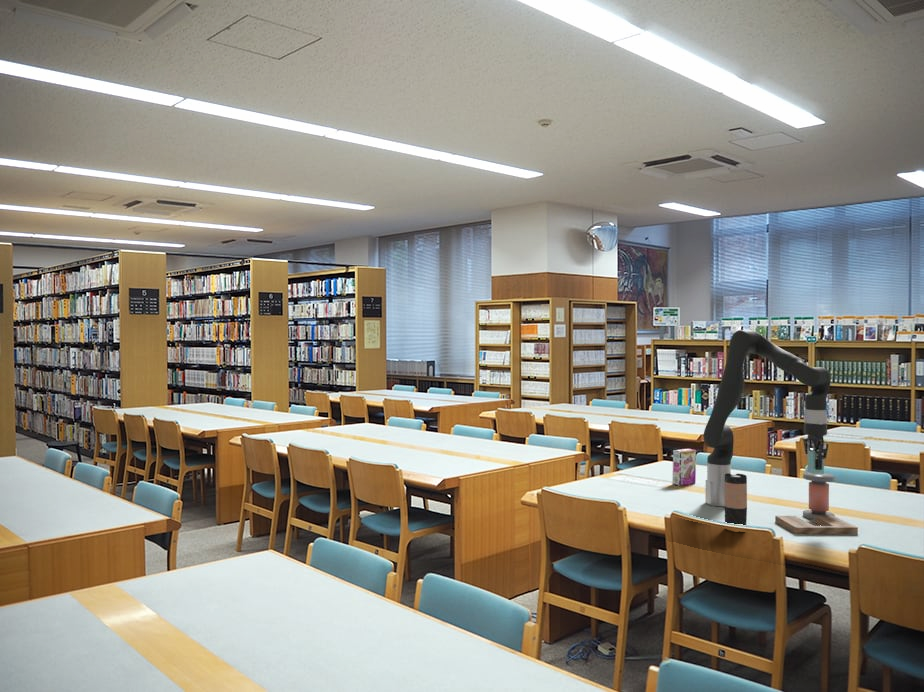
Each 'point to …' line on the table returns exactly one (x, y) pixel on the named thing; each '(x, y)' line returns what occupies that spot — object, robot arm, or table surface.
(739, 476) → the travel mug
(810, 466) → the teal peg
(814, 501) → the bobbin
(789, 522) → the notched board
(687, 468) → the candy bar box
